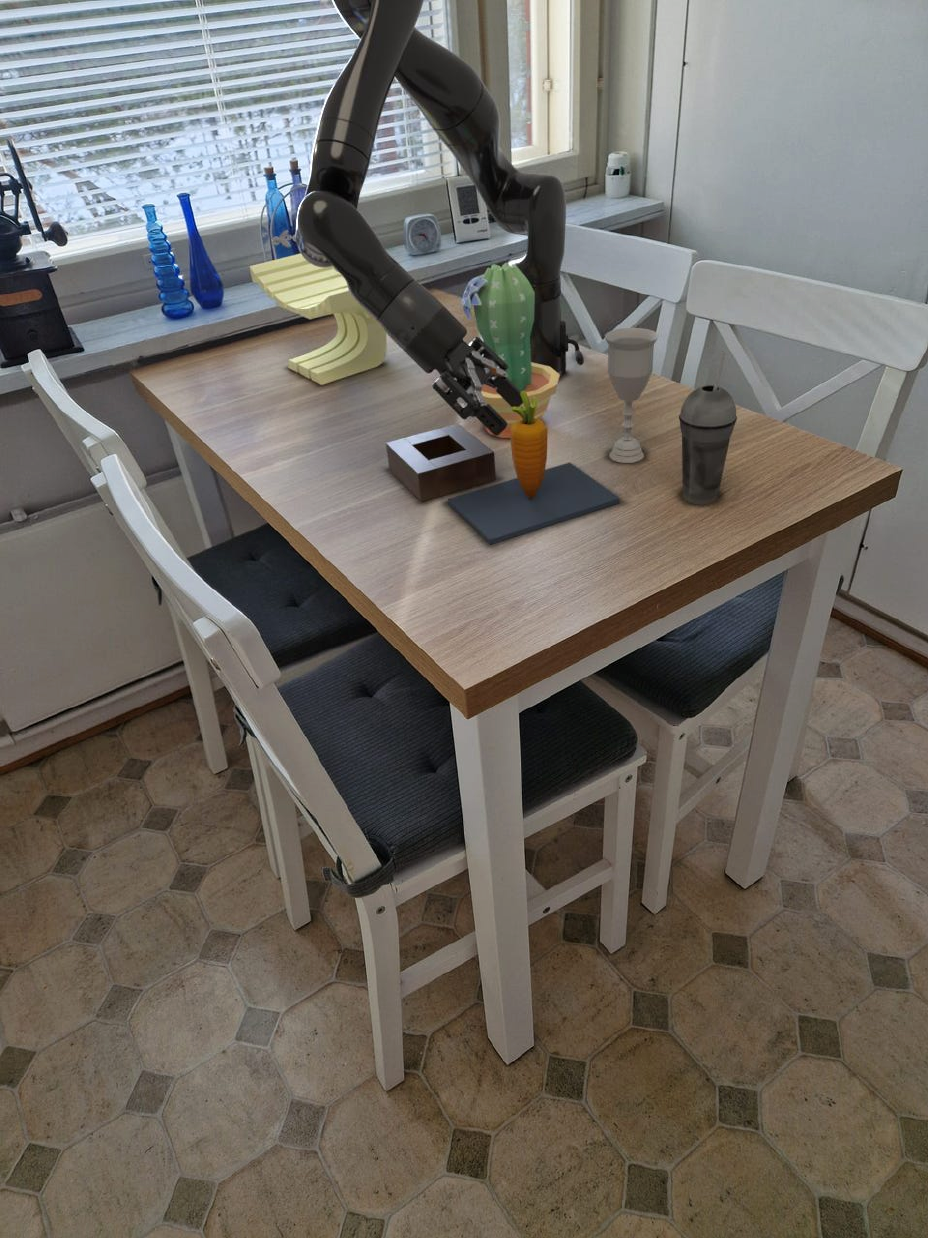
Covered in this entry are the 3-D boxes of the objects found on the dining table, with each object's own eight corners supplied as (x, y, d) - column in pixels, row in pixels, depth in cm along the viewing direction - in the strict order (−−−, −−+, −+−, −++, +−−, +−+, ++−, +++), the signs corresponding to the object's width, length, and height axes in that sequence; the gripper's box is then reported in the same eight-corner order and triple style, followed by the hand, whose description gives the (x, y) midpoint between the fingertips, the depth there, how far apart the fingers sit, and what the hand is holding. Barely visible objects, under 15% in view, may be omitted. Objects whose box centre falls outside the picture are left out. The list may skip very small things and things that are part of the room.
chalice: (655, 447, 133) (662, 328, 123) (647, 467, 128) (654, 345, 118) (607, 443, 136) (610, 326, 125) (597, 463, 131) (599, 343, 120)
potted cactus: (489, 402, 152) (480, 250, 137) (574, 412, 146) (574, 254, 131) (449, 439, 141) (434, 278, 126) (539, 452, 135) (534, 284, 120)
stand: (460, 450, 138) (458, 423, 135) (496, 480, 129) (494, 451, 126) (389, 470, 134) (385, 442, 131) (421, 502, 125) (417, 473, 122)
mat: (569, 467, 130) (569, 462, 130) (619, 502, 121) (619, 497, 120) (447, 503, 124) (447, 498, 124) (490, 544, 114) (489, 539, 114)
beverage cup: (666, 486, 123) (676, 345, 111) (717, 481, 123) (733, 340, 112) (681, 512, 117) (693, 366, 106) (735, 506, 118) (753, 360, 106)
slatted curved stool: (417, 372, 166) (406, 274, 155) (344, 396, 159) (328, 296, 148) (336, 336, 186) (321, 248, 175) (268, 357, 179) (249, 266, 168)
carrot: (546, 507, 119) (544, 402, 111) (510, 506, 120) (505, 402, 112) (550, 490, 123) (549, 387, 114) (515, 489, 124) (511, 387, 115)
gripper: (419, 325, 105) (515, 422, 108) (458, 288, 115) (545, 378, 119) (383, 366, 109) (477, 458, 113) (424, 328, 120) (509, 412, 123)
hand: (512, 416), depth 116 cm, fingers open, 8 cm apart
